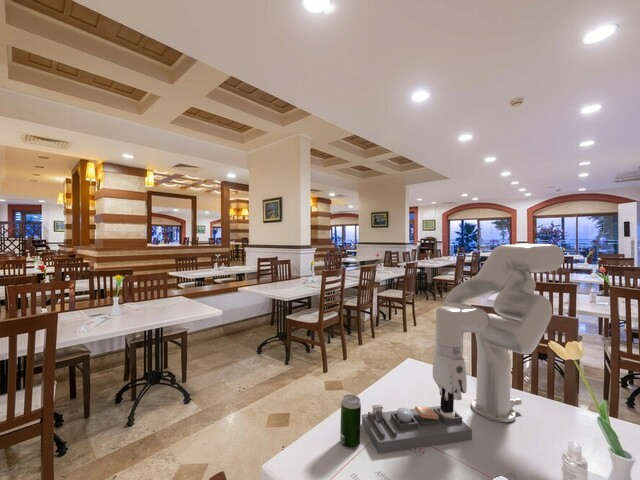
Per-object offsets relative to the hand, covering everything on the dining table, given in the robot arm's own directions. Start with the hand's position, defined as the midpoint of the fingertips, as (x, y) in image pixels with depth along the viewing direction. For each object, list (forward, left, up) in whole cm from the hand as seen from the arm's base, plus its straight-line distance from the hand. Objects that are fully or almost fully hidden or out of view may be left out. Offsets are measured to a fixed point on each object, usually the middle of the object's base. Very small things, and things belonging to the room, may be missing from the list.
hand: (446, 411), depth 86 cm
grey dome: (+14, 0, -1) cm, 14 cm away
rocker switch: (+7, 0, 0) cm, 7 cm away
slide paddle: (+21, -3, -2) cm, 21 cm away
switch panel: (+10, 0, -5) cm, 11 cm away
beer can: (+30, +1, -5) cm, 31 cm away
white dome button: (0, 0, -2) cm, 2 cm away
